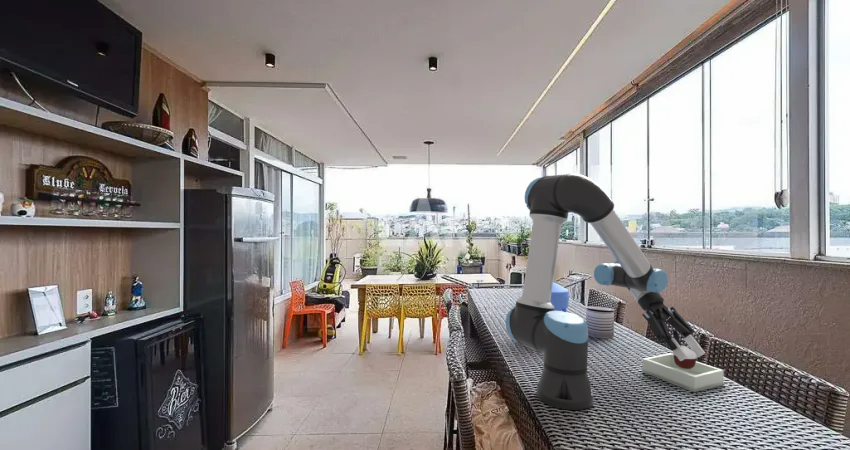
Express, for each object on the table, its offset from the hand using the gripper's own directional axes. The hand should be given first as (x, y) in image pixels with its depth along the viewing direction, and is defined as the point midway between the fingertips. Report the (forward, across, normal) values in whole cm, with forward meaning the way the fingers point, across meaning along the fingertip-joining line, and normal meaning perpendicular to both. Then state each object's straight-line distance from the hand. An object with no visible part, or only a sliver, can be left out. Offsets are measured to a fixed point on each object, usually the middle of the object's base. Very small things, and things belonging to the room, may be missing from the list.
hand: (692, 356), depth 128 cm
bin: (+3, 0, -8) cm, 9 cm away
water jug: (-32, +10, -44) cm, 55 cm away
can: (-29, -15, -41) cm, 52 cm away
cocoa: (+1, -1, -6) cm, 6 cm away
